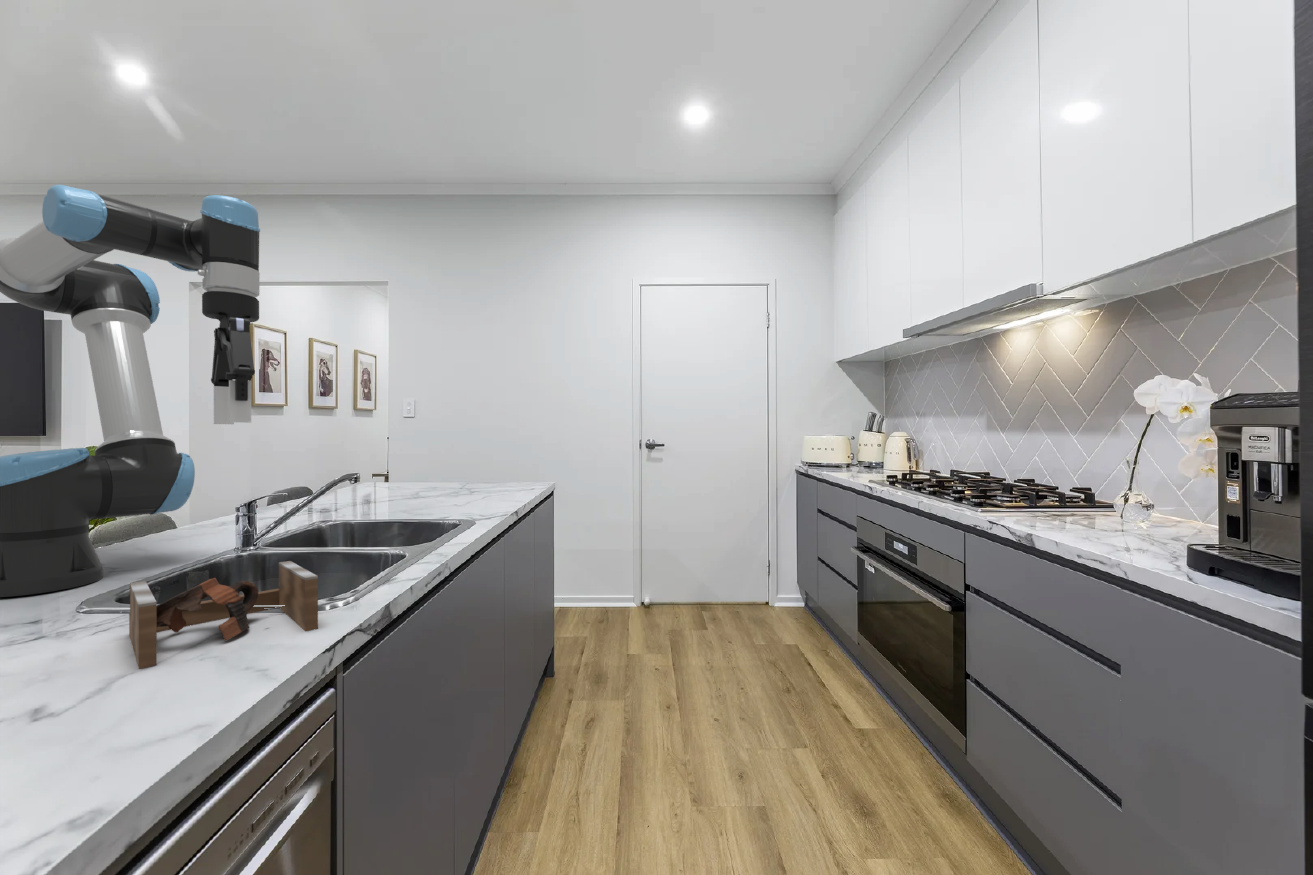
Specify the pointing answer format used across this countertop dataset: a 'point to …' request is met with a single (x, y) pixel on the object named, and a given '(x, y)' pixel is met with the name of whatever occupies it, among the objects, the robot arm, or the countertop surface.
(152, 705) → the countertop surface
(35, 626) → the countertop surface
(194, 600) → the pottery mug
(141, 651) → the wooden stand
